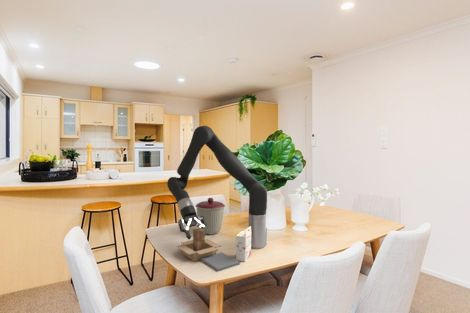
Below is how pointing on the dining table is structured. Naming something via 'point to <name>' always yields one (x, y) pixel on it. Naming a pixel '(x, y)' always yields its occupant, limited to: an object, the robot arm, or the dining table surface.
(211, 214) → the canister
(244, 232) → the ink cartridge box
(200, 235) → the walnut block
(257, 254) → the dining table surface
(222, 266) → the mat
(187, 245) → the carton
